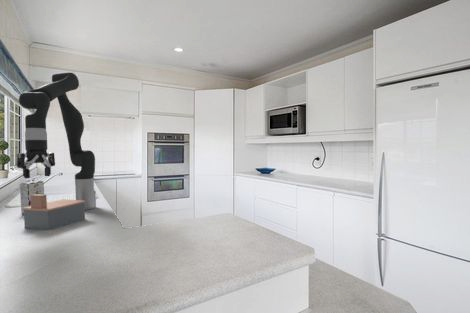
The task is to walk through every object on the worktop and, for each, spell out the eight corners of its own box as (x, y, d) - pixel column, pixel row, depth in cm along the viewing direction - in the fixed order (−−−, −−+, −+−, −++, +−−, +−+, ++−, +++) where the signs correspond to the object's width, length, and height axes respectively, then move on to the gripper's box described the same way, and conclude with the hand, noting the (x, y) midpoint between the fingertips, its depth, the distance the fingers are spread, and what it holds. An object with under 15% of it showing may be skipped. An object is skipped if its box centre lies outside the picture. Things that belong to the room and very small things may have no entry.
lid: (62, 204, 131) (62, 188, 131) (86, 205, 127) (85, 189, 126) (22, 213, 113) (21, 195, 113) (47, 215, 108) (47, 196, 108)
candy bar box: (36, 209, 151) (35, 180, 150) (45, 209, 150) (44, 180, 150) (20, 213, 139) (19, 183, 139) (29, 213, 139) (28, 183, 139)
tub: (63, 217, 131) (62, 201, 130) (84, 218, 126) (84, 202, 126) (24, 227, 113) (23, 209, 113) (48, 230, 109) (47, 211, 109)
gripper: (46, 140, 120) (47, 175, 120) (11, 138, 106) (13, 178, 106) (58, 139, 117) (59, 175, 118) (24, 138, 104) (26, 179, 104)
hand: (37, 177), depth 112 cm, fingers open, 8 cm apart
